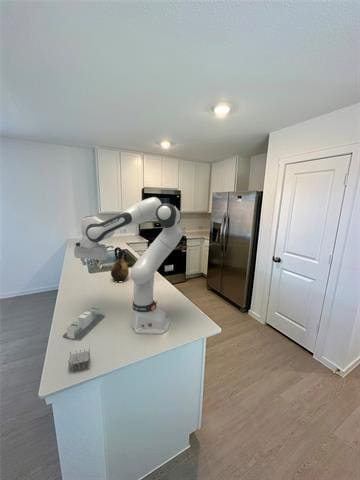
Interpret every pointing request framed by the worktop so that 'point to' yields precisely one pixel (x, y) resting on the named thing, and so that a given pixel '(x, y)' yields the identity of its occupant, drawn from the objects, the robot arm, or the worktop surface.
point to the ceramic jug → (119, 266)
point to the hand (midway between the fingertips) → (91, 265)
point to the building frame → (82, 358)
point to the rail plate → (86, 330)
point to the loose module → (85, 319)
